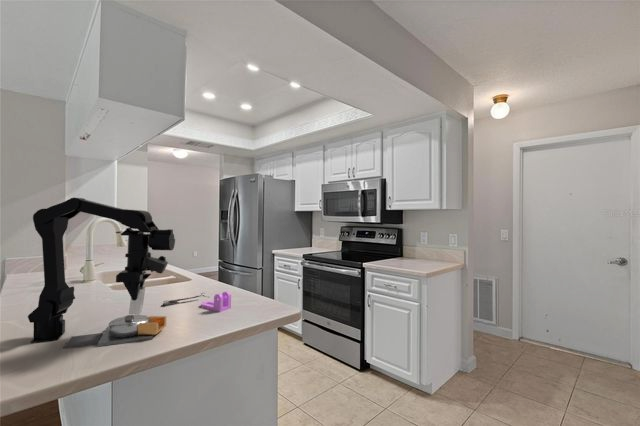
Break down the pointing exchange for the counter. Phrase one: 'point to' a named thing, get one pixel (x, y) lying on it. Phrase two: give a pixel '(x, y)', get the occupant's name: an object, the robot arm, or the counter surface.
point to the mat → (83, 340)
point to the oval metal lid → (136, 325)
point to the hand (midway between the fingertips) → (136, 298)
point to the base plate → (121, 338)
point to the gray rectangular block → (137, 302)
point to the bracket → (219, 302)
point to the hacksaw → (179, 300)
